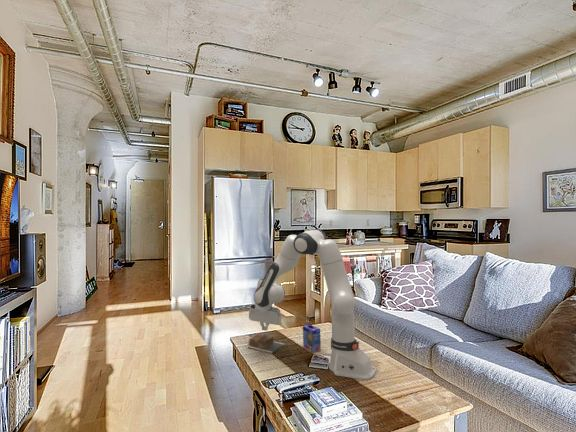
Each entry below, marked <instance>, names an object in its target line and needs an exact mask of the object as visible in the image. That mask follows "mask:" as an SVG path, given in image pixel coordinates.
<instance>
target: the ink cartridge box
mask: <svg viewBox="0 0 576 432" xmlns="http://www.w3.org/2000/svg"><path fill="white" fill-rule="evenodd" d="M321 341H322V340H321V328H319V327H317V326H314V325H312V324H311V323H309V322H307V324H305V325H303V326H302V344H303V345H302V346H303V348H305V349H307V350H309V351H310V352H311V353H317V352H319V351H322V348H321V345H322V343H321Z"/></svg>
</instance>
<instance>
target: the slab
mask: <svg viewBox="0 0 576 432" xmlns="http://www.w3.org/2000/svg"><path fill="white" fill-rule="evenodd" d="M273 341H274V336H271V335H267V334H262V333H256V334H254V335H251V336H250V337H249V338H248V346H254V347H259V348H263V349H265V348H267V347H269V346H270V345H272V344H273Z"/></svg>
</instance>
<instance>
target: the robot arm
mask: <svg viewBox="0 0 576 432" xmlns="http://www.w3.org/2000/svg"><path fill="white" fill-rule="evenodd" d="M315 254H316V255H317V257H318V259H319V262H320V266H321V270H322V272H323V275H324V280H325V283H326V286H327V291H328V295H329V298H330V302H331V338H330V349H331V351H330V352H331V353H330V354H331V355H330V360H329V365H328V369H329V370H330V371H331V372H332V373H333V375H335V376H338V377H345V378H351V379H357V380H359V379H360V380H365V381H366V380H367V381H368V380H371V379H372V378H373V377H375V376H376V374H377V373H376V372H377V368H376V366H374V365H372V362H371V358H370V356H369V355H368V354H367V353H365V352H364V351H363V350H362V349H361V348H360V347H359V345H360V340H358V341H357V340H356V337H355V335H356V334H355V332H356V331H355V327H356V326H355V307H356V298H355V296H354V292H353V290H352V289H353V288H352V285H351V283H350V279H349V276H348V272H347V269H346V265H345V263H344V259H343V256H342V253H341V251H340V248H339V246H338V245H337V242H336V241H335V240H333V239H327V235H326V233H325V231H323V230H322V229H317V228H315V229H311V230H310V229H309V230H306V231H304V232H300V233H298V234H290V235H288V236H287V237H286V238H285V240H284V241H283V244H282V245H281V248H280V251H279V252H278V255H277V256H276V258H275V260H274V261H272V263H271V265H270V266H269V267H268V269H267V271H266V273H265V275H264V277H262V278H259V279H258V281H257V285H256V290H255V291H254V293H253V301H254V302H253V303H251V304H249V308H250V309H248V310H249V311H248V319H249V321H252V322H253V321H254V322H259V324H260V326H261V331H268V327H269V326H270V325H275V326H278V325H280V324H281V323H282V317H281V310H280V308H279V307H275V306H273V305H274V304H279V303H281V302H283V301H284V300H285V298H286V292H285V289H284V287H283V286H281V285H280V284H278V283H276V281H277V279H278V278H279V277H280V276H282V275H284V274H286V273H288V272H290V271H292V270H294V269H295V267H297V265H298V263H299V261H300V258H301V255H311V256H313V255H315ZM264 323H265V324H264Z"/></svg>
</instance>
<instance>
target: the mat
mask: <svg viewBox="0 0 576 432" xmlns="http://www.w3.org/2000/svg"><path fill="white" fill-rule="evenodd" d="M284 346H285V343H282V342H278V341H274V340H273V344H272V345H270V346H269V347H267V348H265V349H263V348H259V347H254V346H249V345H248V346H247V349H248V350H252V351H253V350H254V351H257V352H261V353H266V354H270V355H272V354H274V353H275V352H277V351H279V350H280V349H281V348H282V347H284Z"/></svg>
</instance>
